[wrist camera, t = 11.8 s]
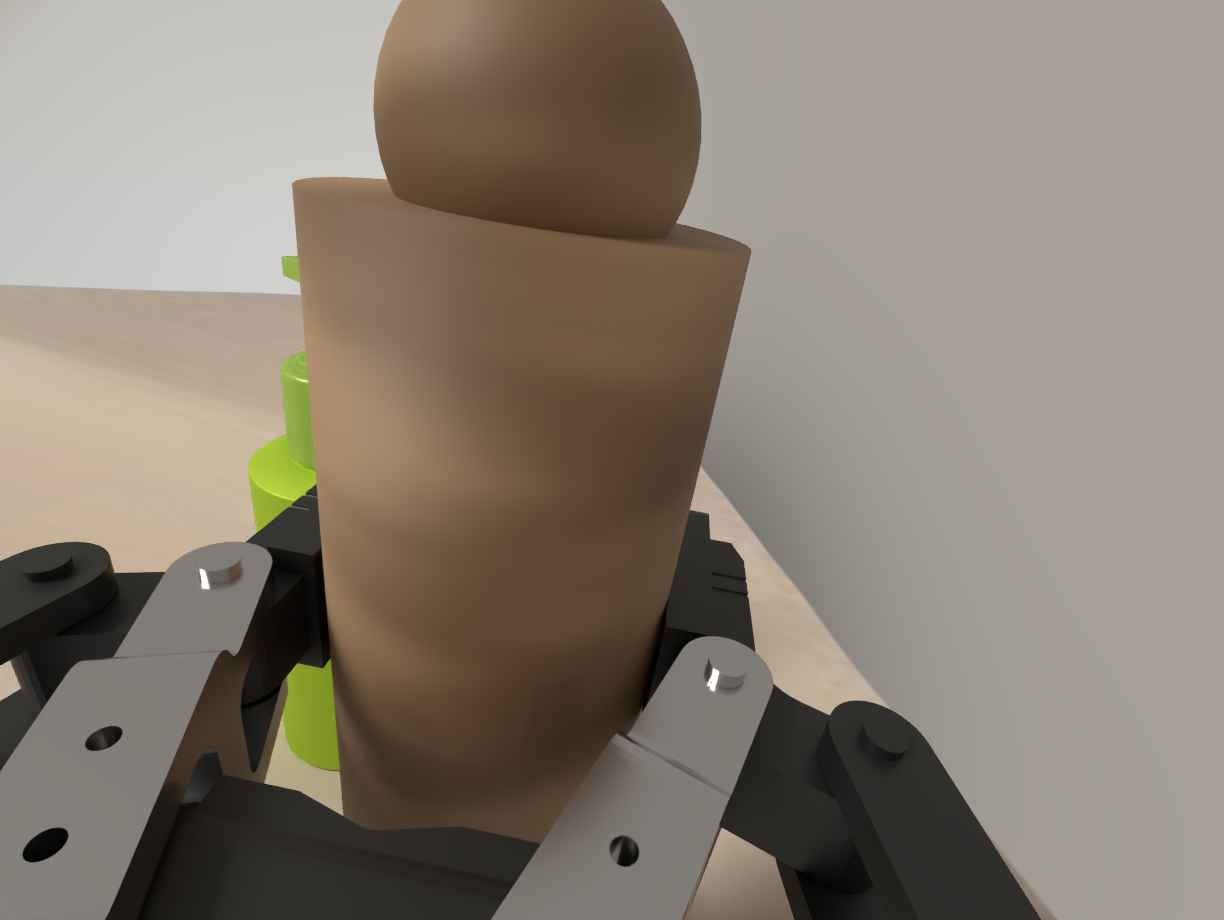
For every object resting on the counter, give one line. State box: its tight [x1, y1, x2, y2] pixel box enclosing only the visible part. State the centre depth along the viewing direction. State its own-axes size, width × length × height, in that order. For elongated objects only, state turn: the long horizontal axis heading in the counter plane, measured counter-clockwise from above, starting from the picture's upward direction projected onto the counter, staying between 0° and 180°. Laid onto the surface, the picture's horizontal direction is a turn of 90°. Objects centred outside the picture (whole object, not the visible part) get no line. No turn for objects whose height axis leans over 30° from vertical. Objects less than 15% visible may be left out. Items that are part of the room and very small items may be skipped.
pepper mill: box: [292, 0, 751, 844], centre depth 10 cm, size 5×5×18 cm
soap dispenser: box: [248, 256, 340, 770], centre depth 23 cm, size 6×7×20 cm
